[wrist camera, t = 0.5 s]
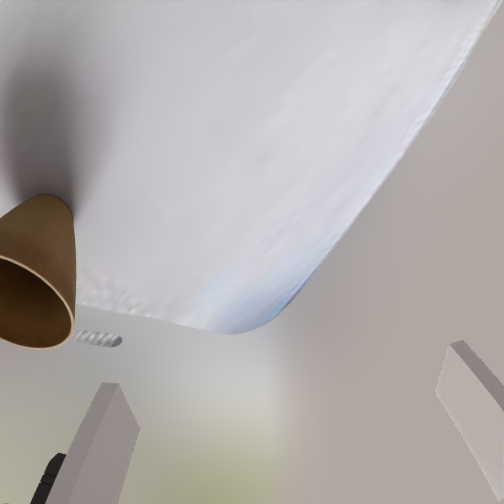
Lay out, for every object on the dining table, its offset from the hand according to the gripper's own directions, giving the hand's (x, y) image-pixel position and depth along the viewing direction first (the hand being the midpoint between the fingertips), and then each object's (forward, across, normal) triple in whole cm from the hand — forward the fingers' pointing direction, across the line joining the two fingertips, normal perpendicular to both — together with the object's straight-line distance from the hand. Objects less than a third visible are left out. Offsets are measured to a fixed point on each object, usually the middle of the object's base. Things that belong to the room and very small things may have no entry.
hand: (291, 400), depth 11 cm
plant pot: (+28, -28, +4) cm, 39 cm away
